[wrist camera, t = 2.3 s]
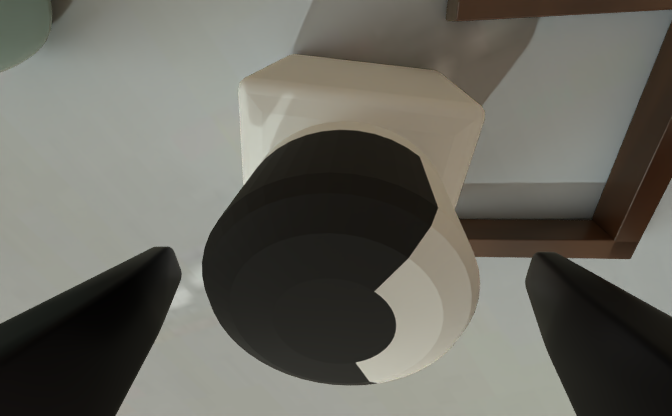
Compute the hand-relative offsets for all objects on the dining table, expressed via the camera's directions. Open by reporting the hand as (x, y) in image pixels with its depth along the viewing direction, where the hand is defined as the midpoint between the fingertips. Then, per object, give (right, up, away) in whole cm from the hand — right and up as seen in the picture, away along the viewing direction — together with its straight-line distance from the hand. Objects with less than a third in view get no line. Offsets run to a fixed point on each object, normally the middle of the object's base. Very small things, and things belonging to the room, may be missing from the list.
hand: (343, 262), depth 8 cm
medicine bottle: (+1, +5, +9) cm, 10 cm away
